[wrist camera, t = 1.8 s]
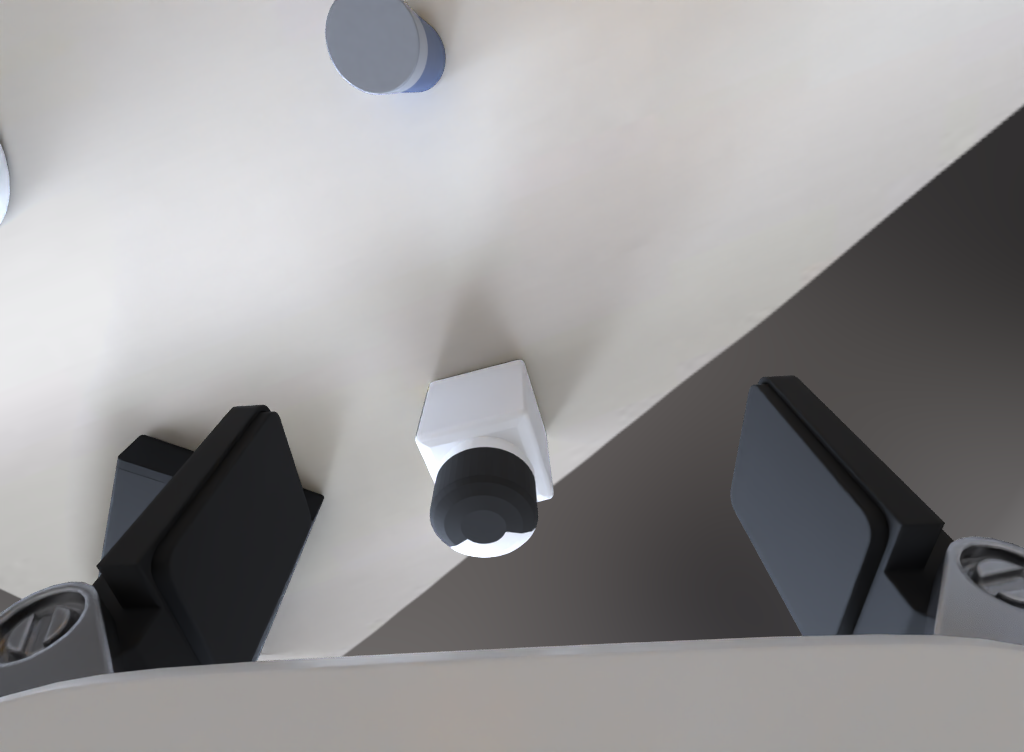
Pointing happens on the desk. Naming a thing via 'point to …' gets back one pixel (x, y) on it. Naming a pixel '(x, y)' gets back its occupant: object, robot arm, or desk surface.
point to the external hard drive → (145, 477)
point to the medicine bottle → (485, 459)
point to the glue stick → (383, 46)
